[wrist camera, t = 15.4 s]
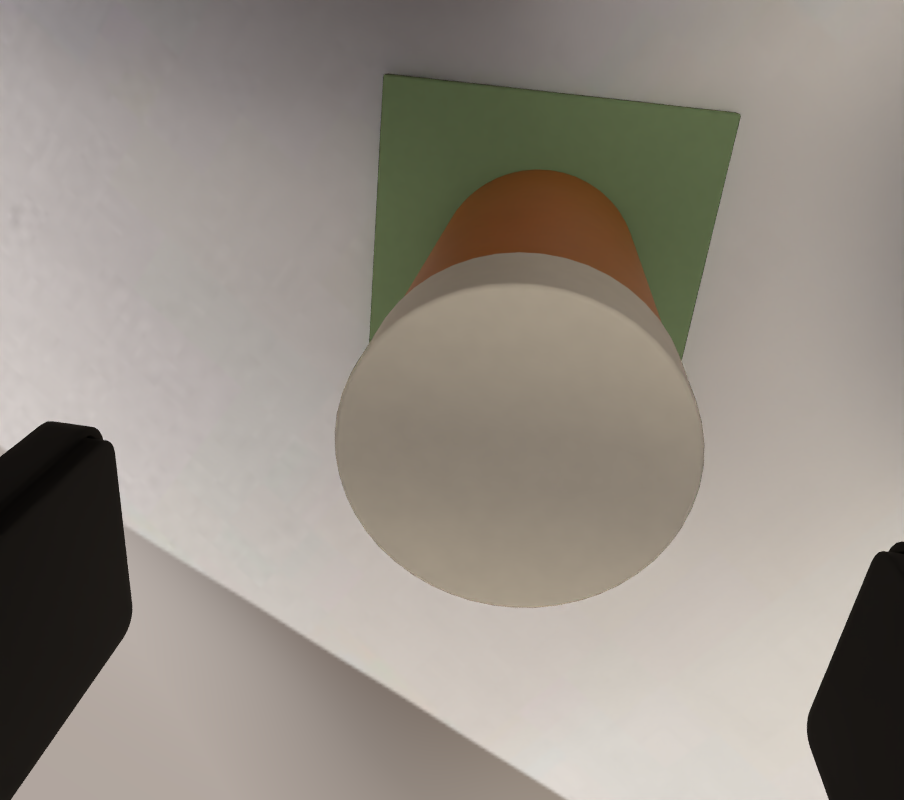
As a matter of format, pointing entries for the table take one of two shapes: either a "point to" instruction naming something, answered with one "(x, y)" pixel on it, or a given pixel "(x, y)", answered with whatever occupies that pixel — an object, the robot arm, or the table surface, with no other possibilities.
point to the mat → (549, 148)
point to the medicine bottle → (523, 405)
